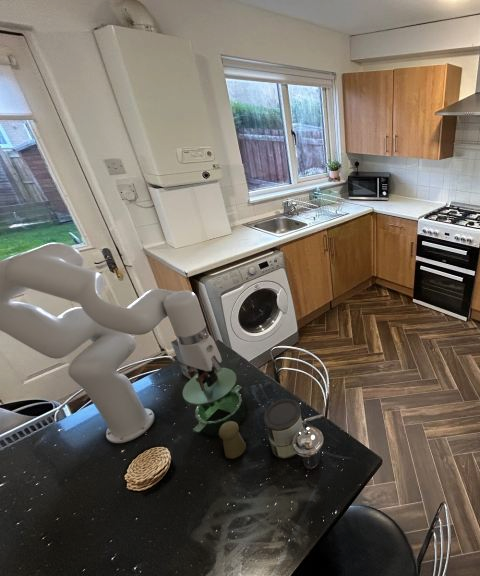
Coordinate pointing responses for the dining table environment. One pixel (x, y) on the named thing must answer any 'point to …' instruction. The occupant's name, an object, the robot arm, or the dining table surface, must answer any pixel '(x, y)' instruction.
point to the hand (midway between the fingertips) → (209, 382)
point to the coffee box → (186, 369)
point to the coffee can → (283, 426)
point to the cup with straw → (308, 443)
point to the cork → (232, 439)
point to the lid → (209, 388)
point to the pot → (227, 403)
